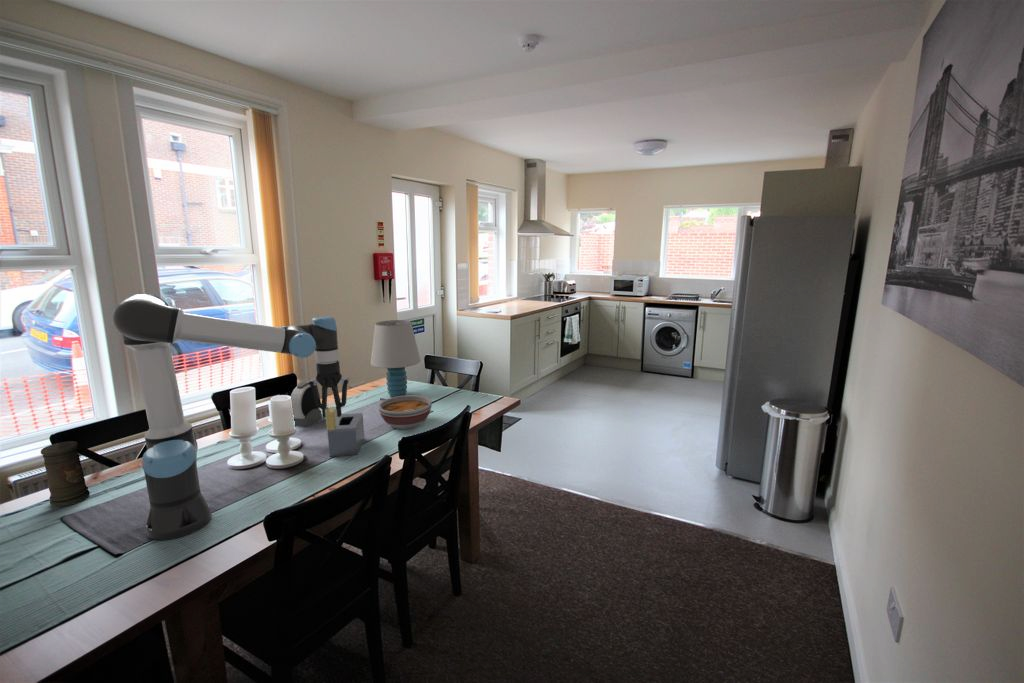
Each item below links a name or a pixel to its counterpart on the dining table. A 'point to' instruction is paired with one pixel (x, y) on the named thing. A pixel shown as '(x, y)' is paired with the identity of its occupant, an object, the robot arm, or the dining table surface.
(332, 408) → the block
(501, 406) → the dining table surface
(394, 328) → the lamp
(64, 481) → the container
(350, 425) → the box
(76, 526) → the dining table surface
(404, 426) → the bowl
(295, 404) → the alarm clock
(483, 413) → the dining table surface
